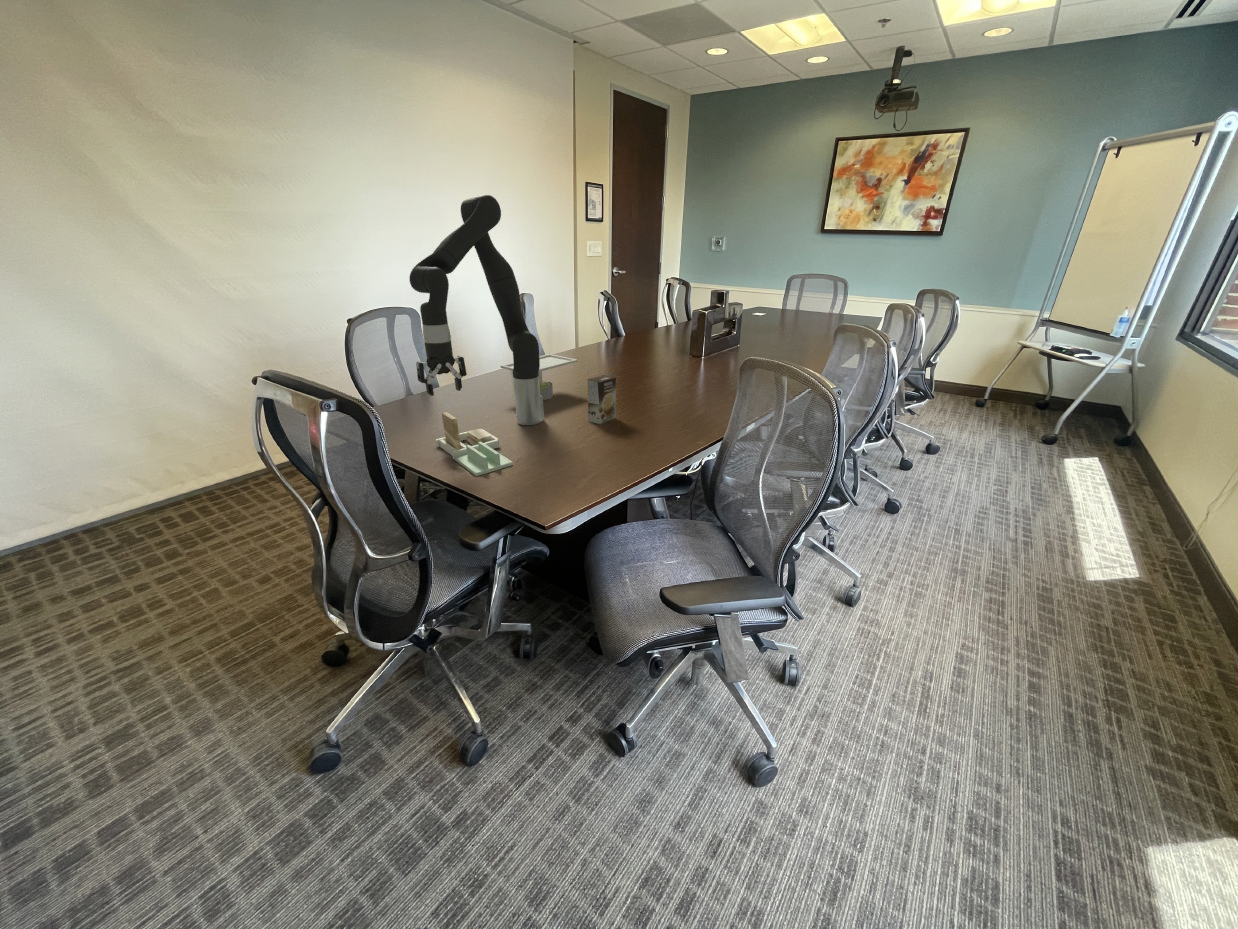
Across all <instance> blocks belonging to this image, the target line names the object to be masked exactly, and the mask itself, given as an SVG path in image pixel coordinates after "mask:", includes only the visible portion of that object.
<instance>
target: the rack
mask: <svg viewBox="0 0 1238 929" xmlns="http://www.w3.org/2000/svg"><path fill="white" fill-rule="evenodd" d="M476 429H477V428H476ZM476 429H474V430H476ZM480 429H481V430H483V431H484V432H486V433H488V434H489V435H491V438H492V439H491V441H489V442H485V443H484V444H486V445H487V446H489V447H490V448H492V449H493V450H495V449H498V448H500V441H499V438H498V437H497V436H495V435H493V434H491V433H490V432H488V431H486V430H484V429H483V428H480ZM472 430H473V429H472ZM472 430H470V431H472ZM468 431H469V430H468ZM468 431H465V432H459V438H460V445H461V449H459V450H457V449H455V448H454V447H452V446H451V445H450V444H448V443H447V442H446V438H445V436H443V437H440V438H436V439H435V445H436V447H437V448H441V449H442V450H444V451H445V452H447V453H448V454H449V455H451V456H452V459H453V460H455V461H456V459H455V458H457V457H460V456H464V455H467V449H466V445H465V444H464V443H462V442H464V441H467V435H468V434H467V432H468ZM463 440H464V441H463ZM471 446H472V447H473V448H475V449H476V450H478V451H479V446H478V445H474V446H473V445H471Z"/></svg>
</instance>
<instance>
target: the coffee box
mask: <svg viewBox="0 0 1238 929" xmlns="http://www.w3.org/2000/svg"><path fill="white" fill-rule="evenodd" d="M616 394H617V377H616V376H613V375H606V374H602V375H597V376H595V377H590V378H587V420H588V421H589V422H591V423H595V424H597V425H602V424H604V423H607V422H609V421H612V420H615V419H616V418H617V417H616V416H617V415H616V411H617V407H616V404H617V400H616V399H617V397H616V396H617V395H616Z"/></svg>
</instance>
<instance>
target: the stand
mask: <svg viewBox="0 0 1238 929" xmlns="http://www.w3.org/2000/svg"><path fill="white" fill-rule="evenodd" d="M465 446H466V449H467V455H464V456H460V457H457V458H455V459H456V460H455V462H457V463H458V464H459V465H461V466H462V467H463V468H465V469H466V470H468V471H469V472H470V473H471V474H473V475H474V476H476V477H477V476H480V475H484V474H487V473H490V472H494V471H497V470H500V469H505V468H507V467H511V466H513V465H514V463H513V461H512V460H510V459H509V458H507V457H506V456H504V455H502V454H501V453H499V452H498V451H496V450H495V449H492V448H490V447H489V446H487V445H486V444H484V443H482V442H478V446H479V451H478V450H476V449H475V448H473V447H472V446H473V445H471V444H467V445H465Z"/></svg>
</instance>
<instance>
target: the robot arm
mask: <svg viewBox="0 0 1238 929" xmlns="http://www.w3.org/2000/svg"><path fill="white" fill-rule="evenodd" d="M460 216H461V219H462V222H463V224H462V225H460V226H459V227H457V228H456V229H454V231H452V232H451V233H449V234H448V235H447V236H446V237H445V238H444V239H443V240H442V241H441V242H440V244H438V246H437V247H436V248H435V249H434V251H433V252H432V253H431V254H430V255H428V256H426V257H425V258H423V259H422V260H420V262H418V263H417V264H416V265H415V266H413V267H412V269H411V271H410V274H409V284H410V286H411V288H412V289H413V290H414V291H415V292H418V293H420V294H429V297H428V301H427V302H424V303H421V304H420V308H419V311H420V318H421V324H422V336H423V343H424V348H425V350H424V351H425V354H426V355H425V356H426V361H416V363H415V364H416V374H417V381H418V382H420V383H422V384H425V390H426V393H427V394H428V395H429V396H430V397H433V396H435V394H434V392H435V391H434V387H433V384H432V382H433V380H434V379H435V378H436V376H437V375H438V376H439V375H443V374H449V373H451V374H452V376H454V385H455V390H456V391H462V387H463V385H462V383H463V382H462V378H463V377H465V376H467V375H468V374H467V368H466V367H467V366H466V363H465V357H463V356H461V355H456V357H455V356H454V353H453V345H452V339H451V338H452V335H451V331H450V327H449V324H448V323H449V322H448V316H447V313H448V312H447V303H448V296H449V288H450V287H449V286H450V284H449V279H448V278H449V277H448V275H449V274H452V273H453V272H454V271H455V270H456V268H458V265H459V264H460V263H461V262H462V260H463V259H464V258H465V257H466V255H467V254H468V253H469V251H471V249H473V247H474V249H475V252H476V255H477V256H478V260H479V262H480V265H481V267H482V270H483V272H484V275H485V279H486V283H487V284H488V285H487V286H488V288H489V291H490V293H491V296H492V299H493V301H494V303H495V306H496V309H497V311H498V313H499V315H500V317H501V320H502V324H503V327H504V331H505V335H506V339H507V343H508V347H509V349H510V350H511V352H512V357H513V363H514V368H513V371H512V381H513V391H514V392H513V393H514V402H515V404H514V405H515V414H516V422H517V424H518V425H522V426H535V425H537V424H540V423H542V422H543V421H545V415H544V414H545V412H544V400H543V397H542V396H541V395H540V384H539V368H540V358H539V356H540V346H539V345H540V344H539V341H538V339H537V337H536V335H534V334H533V333H531V332H530V329H529V328H528V325H527V323H526V320H525V318H524V314H523V310H522V305H521V302H522V301H521V295H520V288H519V285H518V282H517V279H516V275H515V273H514V270H513V267H512V266H511V265H510V264H509V262H508V261H507V260H506V258H505V257H504V256H503V255H502V254H501V253H500V251H499V250H498V249H497V248H496V247H495V245H494V243H493V240H491V236H490V234H489V232H490V231H491V230H492V229H494V228H495V227H496V226H497V225H499V223H500V221H501V219H502V218H501V217H502V210H501V207H500V204H499V202H498V200H497V199H496V198H495V197H494V196H492V195H490V194H480V195H476V196H471V197H469V198H465V199H464V200H463V201H462V202H461V204H460ZM455 363H456V364H457V366H458V371H457V370H456V369H455V367H454V364H455ZM427 367H428V370H427V372H426V376H425V370H426V368H427Z"/></svg>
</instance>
